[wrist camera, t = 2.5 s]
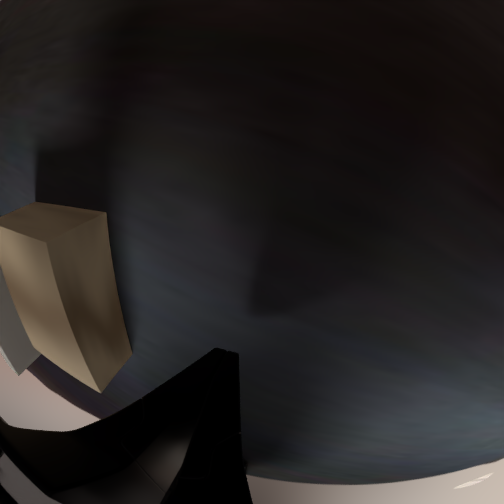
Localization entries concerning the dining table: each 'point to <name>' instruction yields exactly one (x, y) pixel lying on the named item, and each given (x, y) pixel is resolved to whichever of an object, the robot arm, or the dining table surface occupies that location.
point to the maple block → (66, 288)
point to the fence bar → (13, 333)
